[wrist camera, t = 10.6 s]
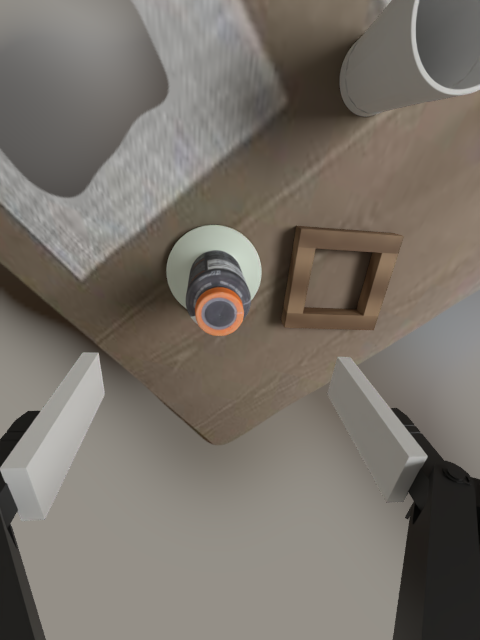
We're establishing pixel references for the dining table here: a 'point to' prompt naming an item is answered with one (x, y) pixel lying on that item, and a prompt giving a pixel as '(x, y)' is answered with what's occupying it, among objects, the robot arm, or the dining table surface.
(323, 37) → the dining table surface
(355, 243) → the open wooden frame
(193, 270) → the pill bottle
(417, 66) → the cup
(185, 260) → the pale green rounded part
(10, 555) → the robot arm
